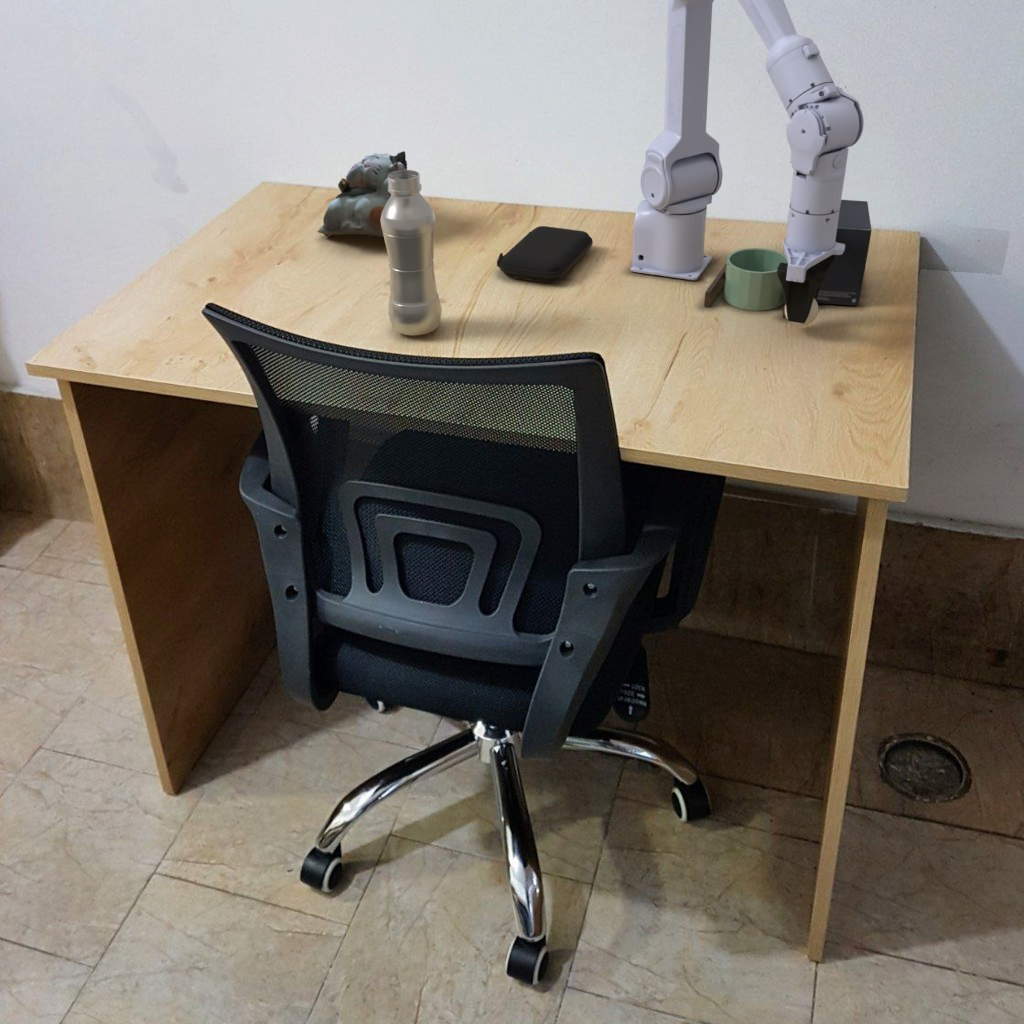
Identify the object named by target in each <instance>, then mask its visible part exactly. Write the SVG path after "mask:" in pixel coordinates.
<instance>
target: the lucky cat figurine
mask: <svg viewBox="0 0 1024 1024" xmlns="http://www.w3.org/2000/svg"><path fill="white" fill-rule="evenodd" d="M406 158H407V157H406V151H405V150H402V151H400V152H397V154H396V155H392V154H389V153H373V154H370V155H365V156H364V158H362V159H361V160H360V161H358V162H356V163H354V164H353V165H352V166H351V168H350V169H349V170H348V172H347V174H346V176H345V177H344V178H340V180H339V182H338V184H337V187H338V189H339V190H340V192H341V193H339V194H337V195H336V197H335V199H334V200H332V201H330V202H329V204H328V207H327V209H326V211H325V212H324V215H323V219H322V220H323V225H322V226H320V227H319V228H318V230H316V232H317V233H318V234H323V235H324V236H325V237H329V236H331V235H364V236H370V237H380V238H384V235H383V231H382V227H381V221H380V219H381V214H382V211H383V209H384V207H385V205H386V203H387V201H388V200H389V198H390V197H391V193H389V191H388V186H389V184H388V174H390V173H391V172H394V171H399V170H408V162H407V160H406Z"/></svg>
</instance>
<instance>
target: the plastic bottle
mask: <svg viewBox="0 0 1024 1024" xmlns="http://www.w3.org/2000/svg"><path fill="white" fill-rule="evenodd" d="M388 184H389V186H388V191H389V193H391V197H390V198H389V200H388V201H387V203H386V205H385V207H384V209H383V211H382V214H381V219H380V221H381V227H382V231H383V235H384V237H383V238H384V244H385V248H386V253H387V261H388V263H389V264H388V266H389V267H388V268H389V297H388V298H389V299H388V309H387V311H388V312H387V314H388V318H389V321H390V325H391V326H392V327H393V329H394V330H395V331H396V332H397V333H399V334H401V335H406V336H421V335H426V334H429V333H431V332H434V331H435V330H436V329H437V328H438V326H439V325H440V323H441V319H442V311H443V309H442V304H441V300H440V296H439V293H438V289H437V288H438V287H437V281H436V274H435V268H434V267H435V264H434V262H435V261H434V259H435V257H434V243H435V231H436V214H435V212H434V209H433V207H432V206H431V204H429V202H428V201H427V199H425V197H424V196H423V195H422V194H421V193H420V192H421V191H422V188H423V187H422V184H421V175H420V172H419V171H416V170H413V169H407V170H399V171H394V172H391V173H390V174H388Z"/></svg>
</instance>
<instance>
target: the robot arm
mask: <svg viewBox="0 0 1024 1024" xmlns="http://www.w3.org/2000/svg"><path fill="white" fill-rule="evenodd" d="M714 1H715V0H667V16H666V17H667V20H666V52H665V53H666V54H665V55H666V56H665V87H664V89H665V90H664V121H663V122H664V123H663V130H662V132H661V133H660V134H659V135H658V136H657V137H656V138H655V139H654V140H653V141H652V143H650V144H649V146H647V147H646V149H645V159H644V160H645V161H644V164H643V168H642V169H641V174H640V180H639V181H640V182H639V183H640V191H641V193H642V196H643V198H644V199H642V200H641V201H640V202H639V204H638V206H637V208H636V211H635V215H634V218H633V219H634V220H633V227H632V228H633V230H632V231H633V232H632V233H633V234H632V260H631V261H632V265H631V267H630V271H631V272H634V273H637V274H638V273H639V274H646V275H653V276H659V277H660V276H661V277H668V278H675V279H680V280H688V281H697V280H698V279H699V278H700V277H701V275H702V274H703V273H704V271H705V270H706V269H707V267H708V265H709V264H710V263H711V261H712V259H713V257H712V255H707V254H704V253H705V240H706V239H705V238H706V228H707V227H706V225H707V211H708V205H711V204H712V203H713V196H715V195H716V194H717V193H718V192H719V191H720V189H721V186H722V183H723V175H724V174H723V167H722V163H721V160H720V143H719V142H718V141H717V140H716V139H715V138H714V137H713V136H712V135H710V134H709V133H708V132H707V118H708V117H707V116H708V99H709V97H708V96H709V77H710V58H711V38H712V37H711V36H712V21H713V20H712V19H713V2H714ZM738 2H739V4H740V5H741V7H742V9H743V11H744V13H745V14H746V16H747V18H748V19H749V20H750V22H751V24H752V26H753V27H754V29H755V30H756V32H757V34H758V35H759V37H760V38H761V41H762V42H763V44H764V45H765V47H766V49H767V50H768V54H767V58H766V62H765V70H766V72H767V75H768V77H769V79H770V81H771V83H772V85H773V86H774V89H775V91H776V93H777V95H778V97H779V99H780V101H781V103H782V105H783V107H784V109H785V112H786V113H787V115H788V117H789V120H790V122H789V123H787V124H786V129H785V131H786V133H785V134H786V140H787V143H788V145H789V148H790V162H789V163H790V164H791V168H792V170H793V172H792V180H791V188H790V189H791V190H790V198H789V206H788V214H787V222H786V224H787V225H786V231H785V238H784V239H783V241H782V249H783V252H784V254H785V256H786V259H787V262H788V263H780V264H779V266H778V268H777V275H778V278H779V280H780V282H781V284H782V287H783V290H784V294H785V302H786V311H787V318H788V320H787V321H788V322H789V321H791V322H797V323H803V324H804V323H805V322H806V320H807V318H808V315H809V313H810V310H811V306H812V303H813V299H815V300H816V299H817V297H818V294H819V290H820V287H821V284H822V281H823V280H824V278H825V277H826V275H827V273H828V272H826V271H827V269H828V268H829V266H830V265H831V263H832V262H833V260H834V259H835V257H836V255H842V254H843V252H844V250H845V244H842V243H837V242H836V241H835V240H836V233H837V226H838V219H839V212H840V205H841V200H842V197H843V191H844V183H845V176H846V170H847V164H848V163H847V162H848V157H849V148H850V147H853V146H854V145H856V144H857V143H858V142H859V140H860V139H861V136H862V135H863V131H864V123H865V122H864V115H863V111H862V109H861V105H860V102H859V100H857V98H855V97H854V95H851V94H849V93H846V92H845V91H844V90H843V87H840V86H837V85H836V83H835V82H834V80H833V77H832V76H831V74H830V72H829V70H828V67H827V66H826V64H825V62H824V60H823V58H822V55H821V51H820V48H819V47H818V45H817V44H816V43H815V42H814V40H813V39H812V38H810V37H806V36H803V35H801V34H798V33H797V31H796V28H795V26H794V23H793V20H792V18H791V16H790V13H789V10H788V8H787V6H786V5H787V4H786V3H785V1H784V0H738Z"/></svg>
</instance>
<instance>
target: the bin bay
mask: <svg viewBox="0 0 1024 1024" xmlns="http://www.w3.org/2000/svg"><path fill="white" fill-rule="evenodd" d="M725 271H726V263H724V265H723V267H722V268H721V270H719V273H718V274H717V275H716V276H715V278H714V279H713V280H712V282H711V284H710V285H709V287H707V289H706V291H705V293H704V304H703V305H704V308H709V307H710V306H711V305H712V303H713V302H714V300H715V299H716V297H717V296H718V295H719V293H720V291H721V290H722V288H724V283H725ZM785 305H786V301H785V303H784V304H783V313H782V319H784V320H787V318H786V316H785Z"/></svg>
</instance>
